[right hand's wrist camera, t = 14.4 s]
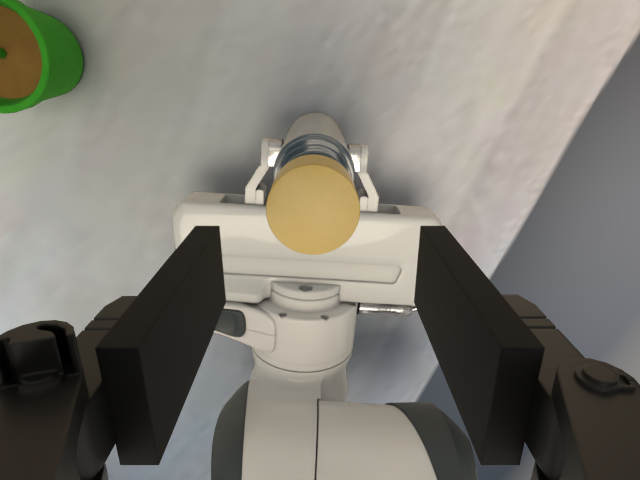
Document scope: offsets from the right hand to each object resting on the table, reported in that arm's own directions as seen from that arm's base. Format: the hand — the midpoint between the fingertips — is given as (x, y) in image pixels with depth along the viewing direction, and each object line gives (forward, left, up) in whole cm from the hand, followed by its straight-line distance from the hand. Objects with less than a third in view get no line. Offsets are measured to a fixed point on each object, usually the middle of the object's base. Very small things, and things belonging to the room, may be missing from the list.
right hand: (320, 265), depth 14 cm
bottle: (0, 0, -26) cm, 26 cm away
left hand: (-1, 0, -19) cm, 19 cm away
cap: (0, 0, -5) cm, 5 cm away
